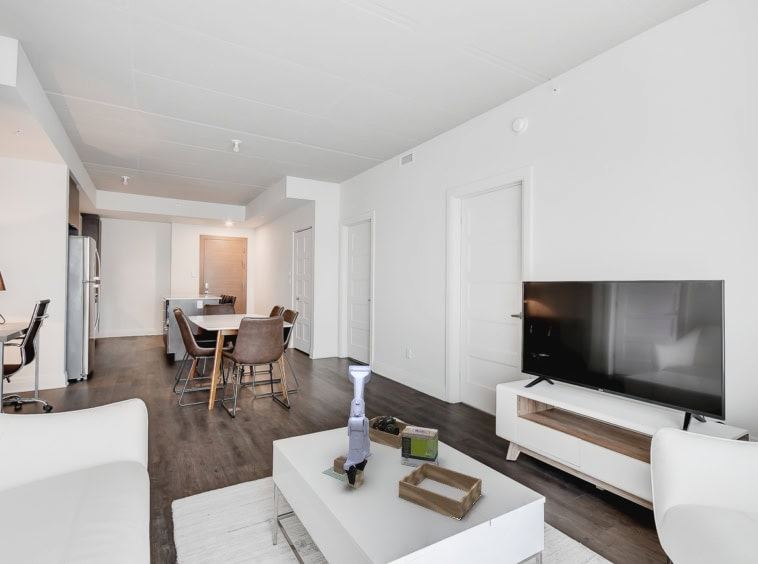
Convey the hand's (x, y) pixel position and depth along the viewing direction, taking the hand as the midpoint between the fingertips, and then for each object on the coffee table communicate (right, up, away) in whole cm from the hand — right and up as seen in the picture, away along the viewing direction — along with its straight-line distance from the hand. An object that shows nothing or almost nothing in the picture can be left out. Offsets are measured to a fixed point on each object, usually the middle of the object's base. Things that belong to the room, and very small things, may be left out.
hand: (355, 480), depth 157 cm
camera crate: (+14, -2, +50) cm, 52 cm away
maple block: (0, -1, 0) cm, 1 cm away
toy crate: (+33, -2, -7) cm, 34 cm away
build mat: (-6, -1, +10) cm, 12 cm away
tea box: (+28, -3, +21) cm, 35 cm away
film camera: (+14, -2, +50) cm, 52 cm away
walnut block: (-6, -1, +10) cm, 12 cm away
